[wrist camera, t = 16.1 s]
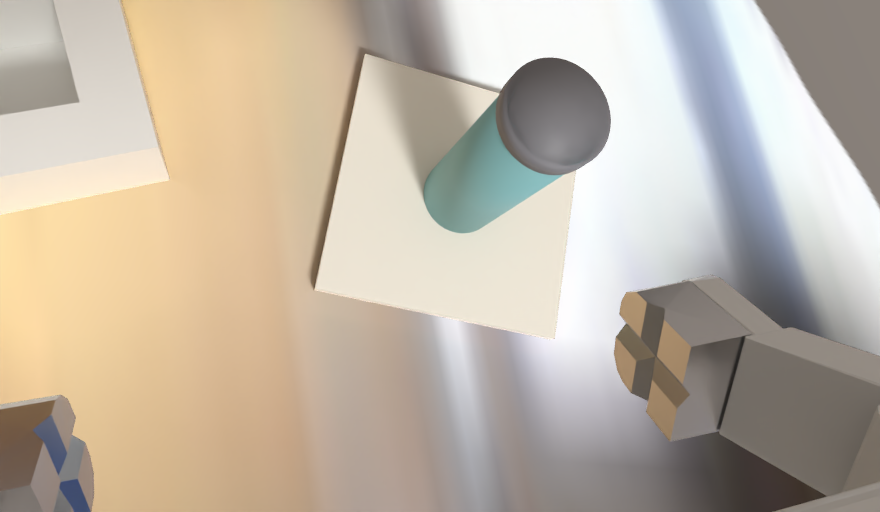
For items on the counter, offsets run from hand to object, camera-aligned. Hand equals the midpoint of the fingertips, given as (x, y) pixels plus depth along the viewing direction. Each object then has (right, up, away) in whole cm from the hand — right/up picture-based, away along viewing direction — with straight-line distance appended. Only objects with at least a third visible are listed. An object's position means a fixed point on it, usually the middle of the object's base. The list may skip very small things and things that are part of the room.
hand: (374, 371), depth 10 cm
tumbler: (+2, +5, +24) cm, 24 cm away
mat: (+2, +5, +24) cm, 25 cm away
